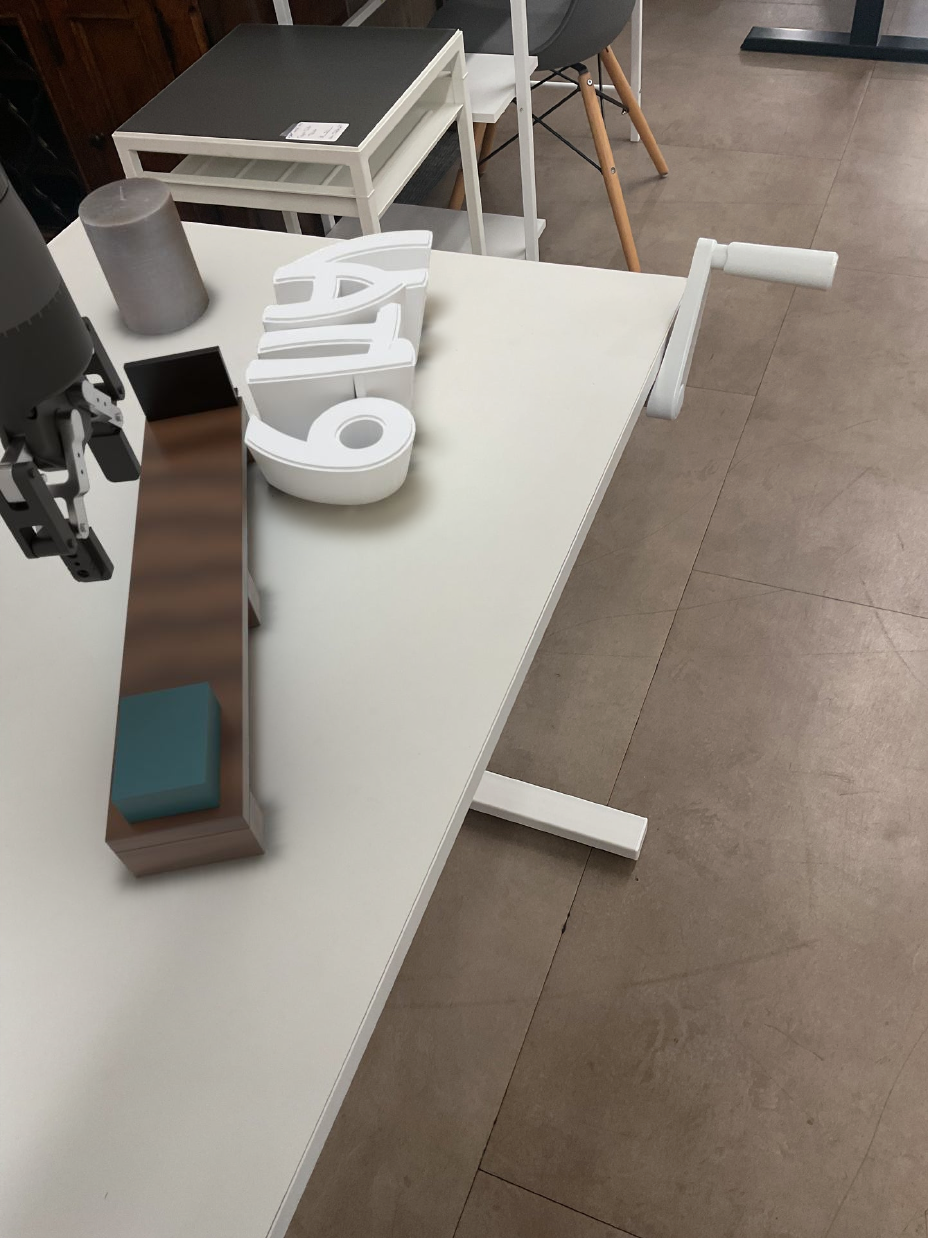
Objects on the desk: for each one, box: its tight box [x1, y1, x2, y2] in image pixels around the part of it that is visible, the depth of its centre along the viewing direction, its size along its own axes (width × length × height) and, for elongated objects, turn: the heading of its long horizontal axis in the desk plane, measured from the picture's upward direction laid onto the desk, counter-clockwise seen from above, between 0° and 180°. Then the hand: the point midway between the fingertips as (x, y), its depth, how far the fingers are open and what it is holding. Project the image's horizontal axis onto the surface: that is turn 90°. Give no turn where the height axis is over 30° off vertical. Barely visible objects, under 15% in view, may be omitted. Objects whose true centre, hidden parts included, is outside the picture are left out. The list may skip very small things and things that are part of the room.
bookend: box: [123, 345, 239, 422], centre depth 90 cm, size 2×8×6 cm, turn 98°
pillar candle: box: [77, 176, 210, 337], centre depth 108 cm, size 10×10×15 cm
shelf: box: [104, 395, 266, 879], centre depth 81 cm, size 44×9×6 cm, turn 8°
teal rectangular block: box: [111, 682, 221, 823], centre depth 67 cm, size 8×6×3 cm
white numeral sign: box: [245, 229, 434, 506], centre depth 95 cm, size 35×16×11 cm, turn 175°
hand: (112, 525), depth 62 cm, fingers open, 8 cm apart
